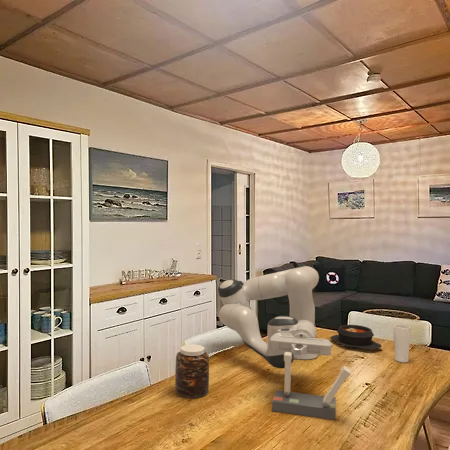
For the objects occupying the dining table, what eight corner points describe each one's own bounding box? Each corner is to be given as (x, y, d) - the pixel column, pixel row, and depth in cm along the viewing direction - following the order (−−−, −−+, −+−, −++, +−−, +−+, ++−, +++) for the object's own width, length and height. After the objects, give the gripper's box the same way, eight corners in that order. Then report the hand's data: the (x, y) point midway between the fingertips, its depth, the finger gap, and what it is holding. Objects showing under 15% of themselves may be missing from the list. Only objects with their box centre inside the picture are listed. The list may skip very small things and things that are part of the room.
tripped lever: (284, 391, 132) (285, 351, 132) (291, 392, 131) (292, 352, 131) (283, 396, 128) (283, 355, 128) (290, 397, 128) (290, 355, 128)
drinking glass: (412, 364, 169) (412, 328, 169) (394, 362, 171) (395, 327, 171) (408, 359, 176) (408, 324, 176) (391, 357, 177) (392, 323, 177)
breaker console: (276, 399, 134) (276, 389, 134) (335, 406, 129) (335, 397, 129) (272, 411, 125) (272, 401, 125) (335, 420, 120) (335, 409, 120)
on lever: (321, 399, 125) (343, 365, 123) (327, 403, 124) (350, 369, 122) (320, 404, 121) (344, 369, 119) (327, 409, 121) (350, 373, 119)
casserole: (389, 348, 191) (389, 331, 191) (367, 356, 179) (367, 337, 179) (344, 336, 210) (344, 320, 210) (321, 342, 199) (322, 325, 199)
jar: (213, 387, 142) (214, 345, 142) (201, 401, 131) (201, 355, 131) (183, 382, 146) (184, 341, 146) (168, 395, 135) (169, 350, 135)
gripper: (332, 352, 138) (331, 365, 125) (273, 346, 144) (266, 358, 130) (332, 333, 138) (331, 345, 125) (273, 328, 144) (266, 339, 130)
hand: (297, 352), depth 128 cm, fingers closed
